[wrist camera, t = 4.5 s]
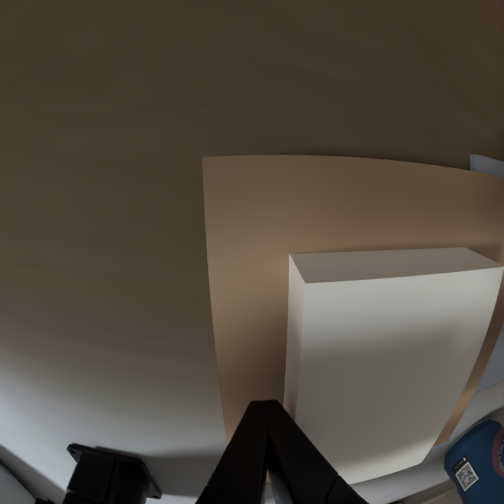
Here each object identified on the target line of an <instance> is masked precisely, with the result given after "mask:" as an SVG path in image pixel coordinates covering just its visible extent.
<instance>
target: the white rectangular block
mask: <svg viewBox="0 0 504 504" xmlns="http://www.w3.org/2000/svg"><path fill="white" fill-rule="evenodd" d="M503 271H504V266H502V265H500V264H498V263H496V262H494V261H492V260H490V259H488V258H486V257H484V256H482V255H480V254H478V253H476V252H474V251H472V250H469V249H467V248H465V247H457V248H432V249H406V250H380V251H353V252H326V253H298V254H289V294H288V327H287V352H286V373H285V391H284V408H285V410H286V411H287V412H288V413H289V415H290V416H291V417H292V419H293V420H294V421H295V422H296V424H297V425H298V426H299V427H300V428H301V430H302V431H303V432H304V433H305V435H306V436H307V437H308V438H309V439H310V441H311V442H312V443H313V444H314V446H315V447H316V448H317V449H318V450H319V451H320V453H321V454H322V455H323V456H324V457H325V459H326V460H327V461H328V462H329V463H330V464H331V466H332V467H333V468H334V469H335V470H336V471H337V472H338V475H340V476H341V477H342V478H343V479H344V480H345V481H346V482H347V483H348V484H354V483H358V482H362V481H366V480H370V479H374V478H377V477H381V476H384V475H388V474H391V473H394V472H397V471H400V470H403V469H406V468H409V467H412V466H415V465H417V464H420V463H422V461H423V460H424V458H425V457H426V455H427V454H428V452H429V451H430V449H431V448H432V446H433V444H434V443H435V441H436V440H437V438H438V436H439V435H440V433H441V431H442V430H443V428H444V426H445V424H446V423H447V421H448V419H449V417H450V415H451V413H452V412H453V410H454V408H455V406H456V404H457V402H458V400H459V398H460V396H461V394H462V392H463V390H464V387H465V385H466V383H467V381H468V379H469V376H470V374H471V372H472V370H473V367H474V365H475V362H476V360H477V357H478V355H479V352H480V350H481V347H482V344H483V341H484V339H485V336H486V333H487V330H488V327H489V324H490V321H491V317H492V314H493V311H494V307H495V304H496V300H497V296H498V292H499V288H500V284H501V280H502V275H503Z"/></svg>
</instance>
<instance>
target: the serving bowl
mask: <svg viewBox="0 0 504 504" xmlns="http://www.w3.org/2000/svg"><path fill="white" fill-rule="evenodd" d="M0 504H35V500H34V498H33V497H32V496H31V495H30V493H29V492H28V491H27V490H26V489H25V488H24V487H23V486H22V485H21V484H20V483H19V482H18V481H17V479H16V478H15V477H14V476H13V475H12V473H11V472H10V471H8V470H7V469H6V468H5V467H4V466H3V465H2V464H1V463H0Z"/></svg>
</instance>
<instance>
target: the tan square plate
mask: <svg viewBox="0 0 504 504" xmlns="http://www.w3.org/2000/svg"><path fill="white" fill-rule="evenodd" d="M202 162H203V188H204V209H205V227H206V243H207V258H208V272H209V284H210V297H211V308H212V319H213V329H214V339H215V349H216V358H217V367H218V376H219V384H220V392H221V400H222V408H223V415H224V423H225V430H226V437H227V444H229V442H230V440H231V438H232V436H233V434H234V432H235V430H236V428H237V426H238V424H239V422H240V420H241V418H242V416H243V414H244V412H245V410H246V408H247V406H248V404H249V402H250V401H253V400H263V401H264V400H271V399H277V400H278V401H279V402H280V403H281V405H282V406H283V407H284V391H285V373H286V352H287V327H288V294H289V254H298V253H326V252H353V251H380V250H406V249H432V248H457V247H465V248H467V249H469V250H472V251H474V252H476V253H478V254H480V255H482V256H484V257H486V258H488V259H490V260H492V261H494V262H496V263H498V264H500V265H502V266H504V177H499V176H494V175H490V174H484V173H479V172H474V171H468V170H462V169H456V168H450V167H443V166H436V165H429V164H421V163H413V162H404V161H395V160H384V159H372V158H358V157H342V156H318V155H239V156H215V157H202ZM503 322H504V271H503V275H502V280H501V284H500V288H499V292H498V296H497V300H496V304H495V307H494V311H493V314H492V317H491V321H490V324H489V327H488V330H487V333H486V336H485V339H484V341H483V344H482V347H481V350H480V352H479V355H478V357H477V360H476V362H475V365H474V367H473V370H472V372H471V374H470V376H469V379H468V381H467V383H466V385H465V387H464V390H463V392H462V394H461V396H460V398H459V400H458V402H457V404H456V406H455V408H454V410H453V412H452V413H451V415H450V417H449V419H448V421H447V423H446V424H445V426H444V428H443V430H442V431H441V433H440V435H439V436H438V438H437V440H436V441H435V443H434V444H433V446H435V445H438V444H440V443H443V442H445V441H447V440H448V439H449V437H450V435H451V434H452V432H453V430H454V429H455V427H456V425H457V424H458V422H459V420H460V419H461V417H462V415H463V413H464V412H465V410H466V408H467V406H468V404H469V402H470V400H471V398H472V396H473V395H474V393H475V390H476V388H477V386H478V384H479V382H480V380H481V378H482V376H483V374H484V371H485V369H486V367H487V364H488V362H489V360H490V357H491V355H492V352H493V350H494V347H495V345H496V342H497V339H498V336H499V334H500V331H501V328H502V325H503ZM433 446H432V447H433ZM267 483H271V482H270V478H269V474H268V470H267Z"/></svg>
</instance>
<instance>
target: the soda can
mask: <svg viewBox="0 0 504 504" xmlns="http://www.w3.org/2000/svg"><path fill="white" fill-rule="evenodd" d="M444 469H445V471H446V472H447V474H448V476H449V478H450V480H451V481H452V483H453V485H454V487H455V489H456V491H457V493H458V494H459V496H460V498H461V500H462V502H463V504H504V428H503V427H502V425H501V424H500V423H499V422H497V421H493V420H488V419H484V420H481V421H479V422H477V423H476V424H474V425H472V426H471V427H470V428H468V429H467V430H466V431H464V432H463V433H462V434H461V435H460V436H459V437H458V438H457V439H456V440H455V441H454V442H453V443H452V444H451V445H450V446H449V448H448V449H447V451H446V453H445V461H444Z"/></svg>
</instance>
